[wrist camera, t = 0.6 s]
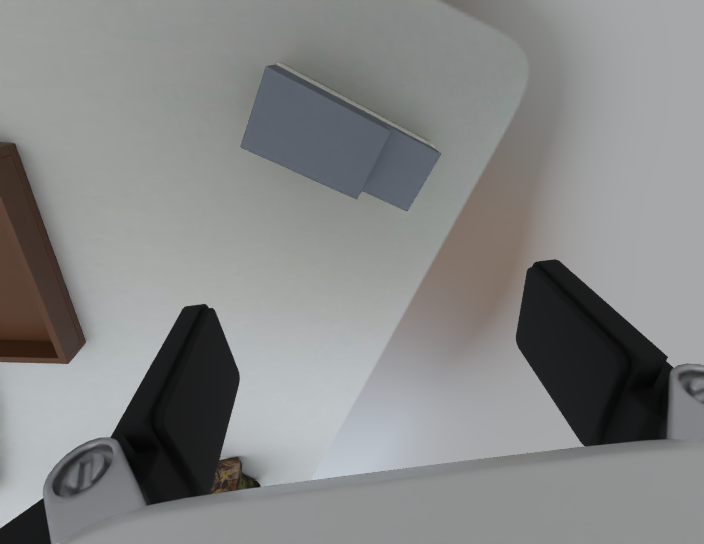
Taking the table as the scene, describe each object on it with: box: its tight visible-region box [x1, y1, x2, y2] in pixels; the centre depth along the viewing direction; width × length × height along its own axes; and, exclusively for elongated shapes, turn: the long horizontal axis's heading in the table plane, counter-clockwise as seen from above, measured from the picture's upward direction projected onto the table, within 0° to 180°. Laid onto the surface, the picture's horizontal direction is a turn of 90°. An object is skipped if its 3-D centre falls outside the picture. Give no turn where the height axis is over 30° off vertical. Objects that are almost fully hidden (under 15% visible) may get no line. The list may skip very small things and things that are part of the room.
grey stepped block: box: [241, 63, 441, 211], centre depth 22 cm, size 11×4×6 cm, turn 64°
